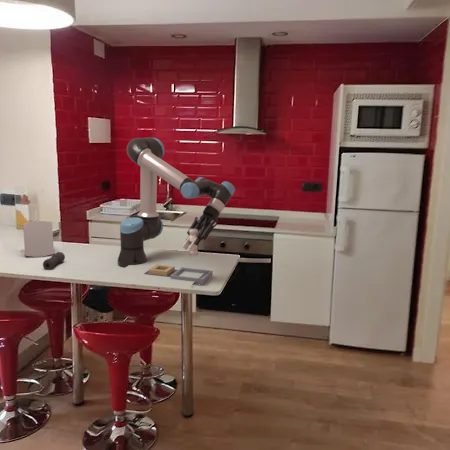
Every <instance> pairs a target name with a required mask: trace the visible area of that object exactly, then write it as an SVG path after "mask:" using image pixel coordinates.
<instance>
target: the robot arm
mask: <svg viewBox="0 0 450 450" xmlns="http://www.w3.org/2000/svg"><path fill="white" fill-rule="evenodd" d="M126 154H127V156H128V158H129V159H130V160H131V162H134V164H136V165H138V167H140V179H139V180H140V183H139V184H140V187H139V188H140V191H139V193H140V194H139V197H140V200H139V201H140V202H139V203H140V204H139V207H140V209H139V210H140V211H139V212H138V213H137V215H136V216H137V217H129V218H125V219H123V220H122V221H121V222H120V228H119V232H120V233H119V236H120V237H119V238H120V252H119V254H118V257H117V266H119V267H121V268H127V267H128V266H139V265H143V264H146V263H147V262H148V258H147V255H146V253H145V249H144V247H145V246H144V242H145V241H148V240H151V239H155V238H157V237H159V236H160V235H161V234H162V232H163V229H164V223H163V221H162V219H161V217H160V214H159V213H158V212H157V202H158V201H157V198H158V197H157V194H158V193H157V192H158V191H157V189H158V188H157V187H158V177H159V178H161V179H162V180H163V181H165V182H167V183H168V184H170V185H171V186H173V187H175V188H176V189H177V190H179V191H180V193H181V195H182V197H183V198H185V199H186V200H187V199H188V200H189V199H190V200H191V199H196V198H200V197H204V196H206V197H210V198H211V199H210V200H209V202H208V203H207V205H206V206H205V208H204V209H203V211H202V215H201V216H199V217H198V216H195V218H194V220H193V221H192V224H191V225H190V227H189V228H188V230H187V232H186V233H187V235H188V236H187V238H186V239H185V241H184V243H183V244H182V246H181V247H182V248H183V249H184V250H185V251H187V250H188V249H189V250H191V251H192V252H193V250H194V249H195V247H196V246H197V247H198V245H199V244H200V243H201V242H202V241H203V240H204V241H205V240H206V239H207V238H208V237H209V235H210V234H211V233H212V231H213V229H214V228H216V226H217V225H218V223H217V222H216V221H217V219H218V218H219V216H220V214H221V213H222V212H223V210H224V208H225V207H226V206H227V204H228V202H229V201H230V199H231V198H232V197H233V195H234V193H235V191H236V188H235V186H234V185H233V184H232V183H230V182H229V181H222V183H221V184H220V183H217V182H214V181H212V180H210V179H207V178H206V177H201V176H198V177H197V178H196V179H195V180H193V179H192V178H190V177H188V176H187V175H186V174H184V173H183V172H181V171H180V170H178V169H176V168H175V167H174V166H172V165H170V164H169V163H167V162H166V161H164V160H163V159H162V158H163V157H164V155H165V146H164V144H163V142H162V141H161V140H160V139H158V138H156V137H151V136H150V137H135V138H132V139H131V140H130V141H129V142H128V144H127V146H126ZM189 229H198V234H197V237H195V239H194V240H193V242H192V243H191V245H190V234H189Z"/></svg>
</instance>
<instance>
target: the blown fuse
mask: <svg viewBox="0 0 450 450" xmlns="http://www.w3.org/2000/svg"><path fill="white" fill-rule="evenodd" d="M188 230H189V234H190V245H191V243H192V242H193V240H194V239H195V237H197V235H199V231H198V229H189V228H188ZM197 238H198V237H197ZM190 245H189V246H190ZM188 251H189V253H188V254H189V256H190V257H191V256H194V257H196V256H198V255H199V249H198V245H197V246H196V247H195V249H194V250H193V252H192V251H191V250H190V249H189V250H188Z"/></svg>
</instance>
